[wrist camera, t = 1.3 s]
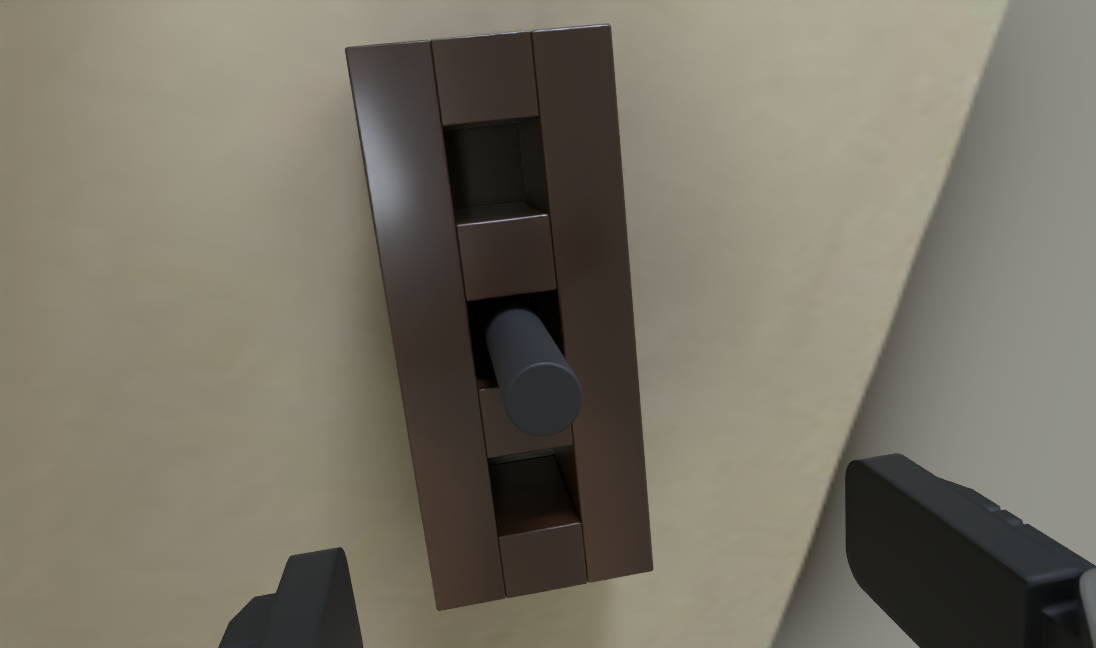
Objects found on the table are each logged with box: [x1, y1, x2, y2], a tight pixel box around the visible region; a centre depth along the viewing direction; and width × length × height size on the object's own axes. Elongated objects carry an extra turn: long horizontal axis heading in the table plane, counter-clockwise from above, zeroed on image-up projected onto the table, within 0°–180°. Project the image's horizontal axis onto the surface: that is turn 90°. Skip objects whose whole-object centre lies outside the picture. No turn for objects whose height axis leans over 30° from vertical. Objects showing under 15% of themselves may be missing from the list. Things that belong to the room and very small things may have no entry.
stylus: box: [478, 294, 583, 437], centre depth 24 cm, size 2×2×12 cm
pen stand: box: [345, 24, 653, 611], centre depth 27 cm, size 8×19×6 cm, turn 6°
